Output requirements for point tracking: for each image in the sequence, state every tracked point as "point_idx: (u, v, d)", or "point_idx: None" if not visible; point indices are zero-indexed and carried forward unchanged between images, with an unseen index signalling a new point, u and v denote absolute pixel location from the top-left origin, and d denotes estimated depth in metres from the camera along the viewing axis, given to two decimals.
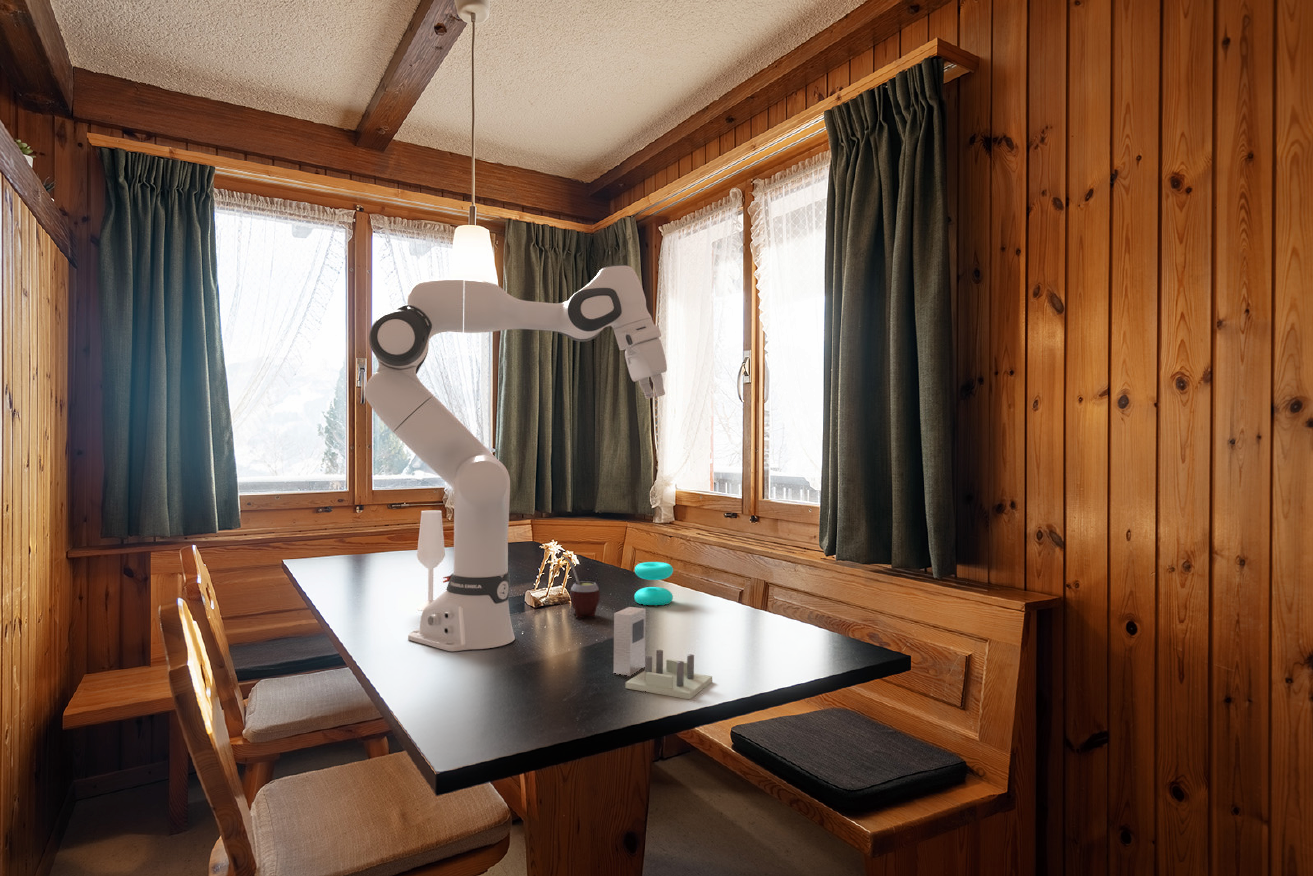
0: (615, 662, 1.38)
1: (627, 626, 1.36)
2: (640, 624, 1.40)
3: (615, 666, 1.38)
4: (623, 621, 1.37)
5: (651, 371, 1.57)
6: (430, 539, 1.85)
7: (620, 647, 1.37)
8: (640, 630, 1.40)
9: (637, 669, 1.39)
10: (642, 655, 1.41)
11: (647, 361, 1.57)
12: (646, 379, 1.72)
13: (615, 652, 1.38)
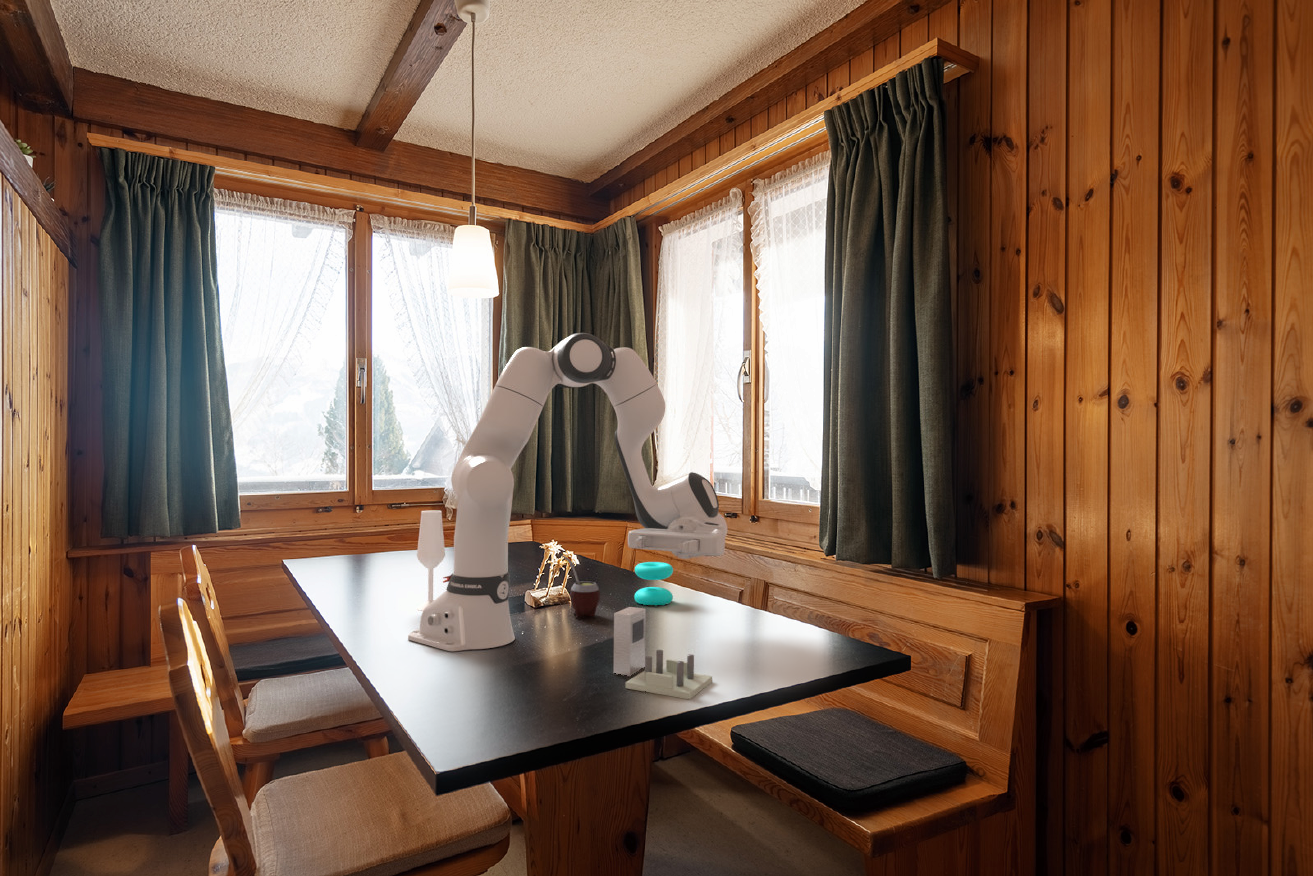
0: (615, 662, 1.38)
1: (627, 626, 1.36)
2: (640, 624, 1.40)
3: (615, 666, 1.38)
4: (623, 621, 1.37)
5: (715, 537, 1.51)
6: (430, 539, 1.85)
7: (620, 647, 1.37)
8: (640, 630, 1.40)
9: (637, 669, 1.39)
10: (642, 655, 1.41)
11: (719, 534, 1.53)
12: (646, 544, 1.57)
13: (615, 652, 1.38)
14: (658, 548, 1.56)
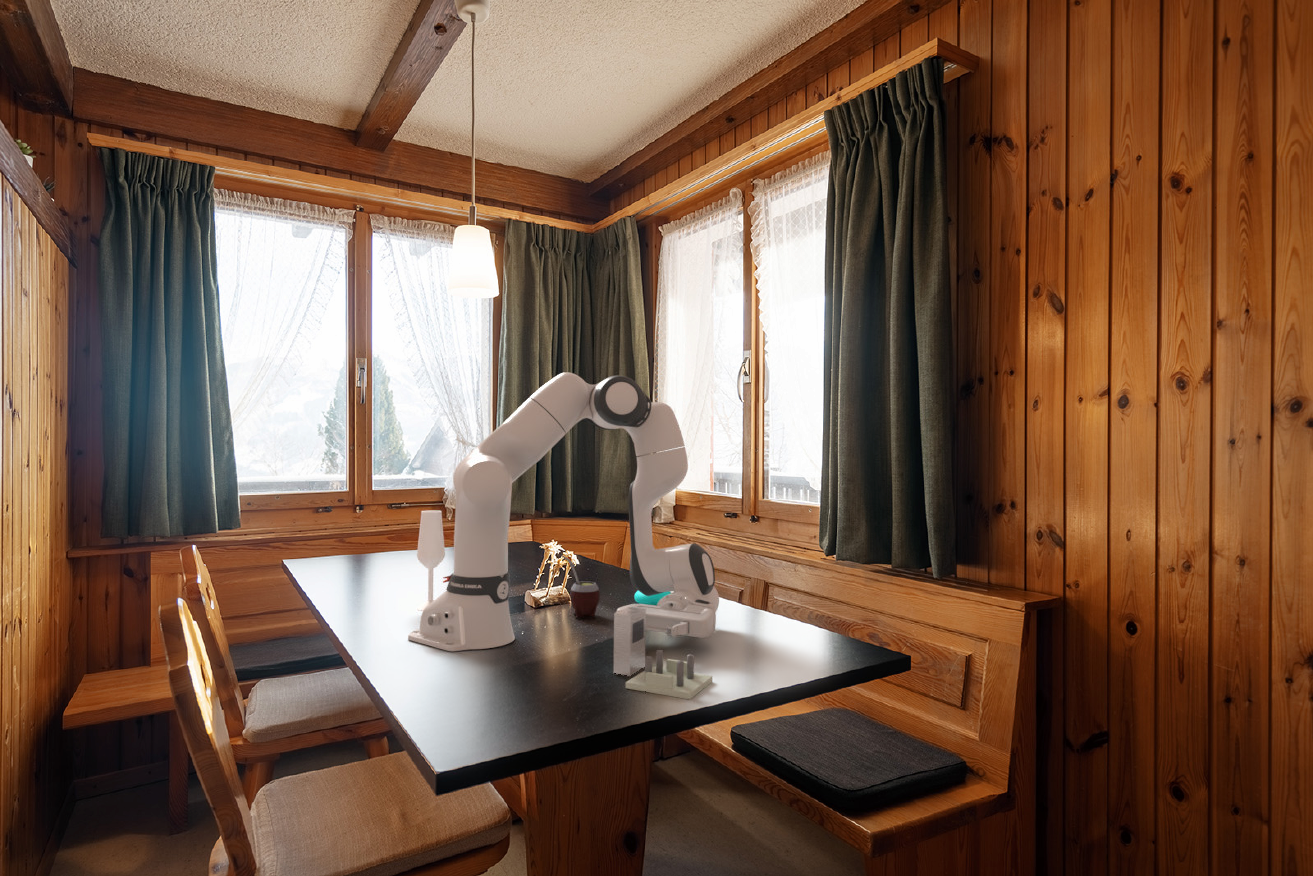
0: (615, 662, 1.38)
1: (627, 626, 1.36)
2: (640, 624, 1.40)
3: (615, 666, 1.38)
4: (623, 621, 1.37)
5: (705, 619, 1.47)
6: (430, 539, 1.85)
7: (620, 647, 1.37)
8: (640, 630, 1.40)
9: (637, 669, 1.39)
10: (642, 655, 1.41)
11: (710, 616, 1.49)
12: None
13: (615, 652, 1.38)
14: (647, 628, 1.52)
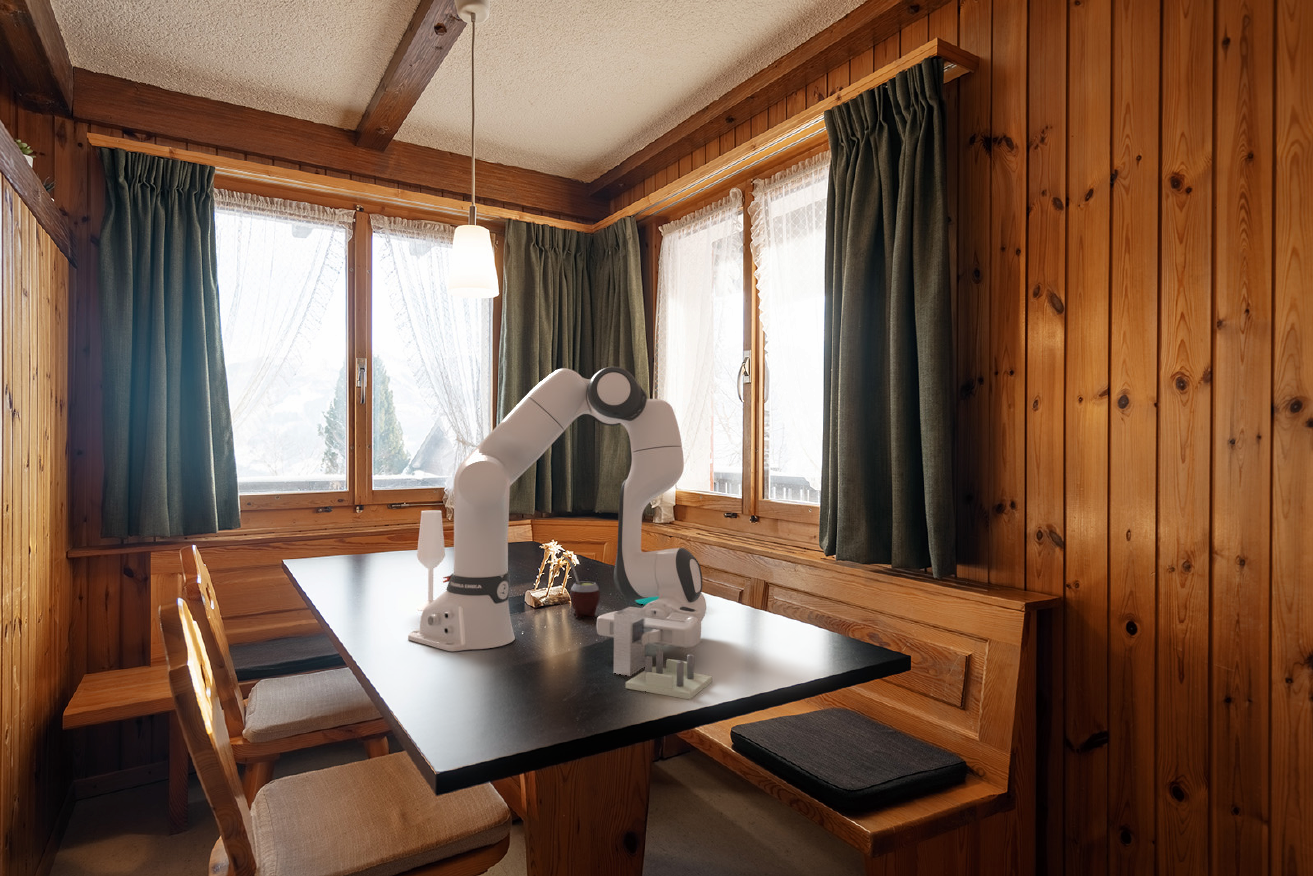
0: (615, 662, 1.38)
1: (627, 626, 1.36)
2: (640, 624, 1.40)
3: (615, 666, 1.38)
4: (623, 621, 1.37)
5: (689, 628, 1.40)
6: (430, 539, 1.85)
7: (620, 647, 1.37)
8: (640, 630, 1.40)
9: (637, 669, 1.39)
10: (642, 655, 1.41)
11: (694, 625, 1.42)
12: None
13: (615, 652, 1.38)
14: None
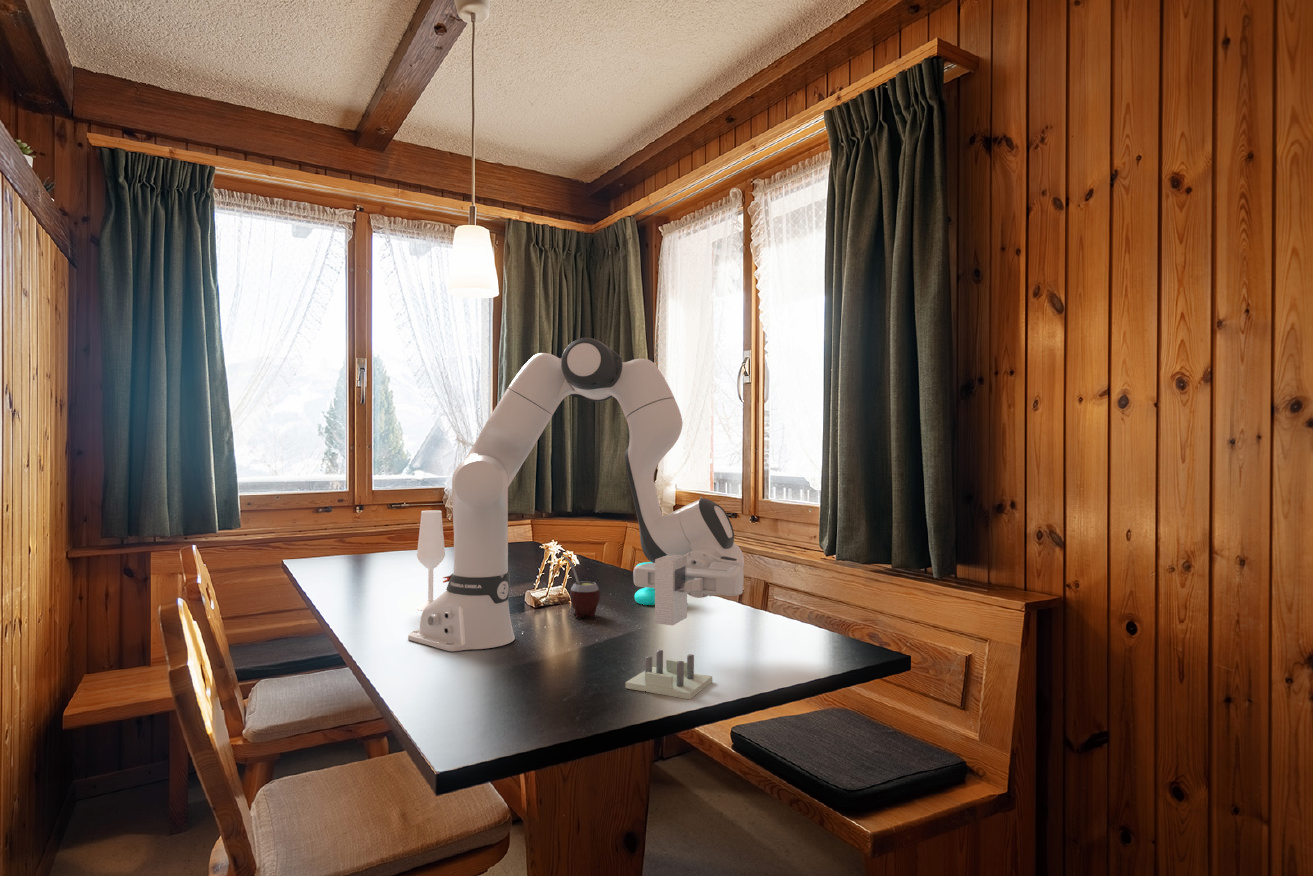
0: (656, 611, 1.30)
1: (669, 572, 1.29)
2: (682, 571, 1.32)
3: (657, 615, 1.30)
4: (665, 567, 1.29)
5: (733, 576, 1.32)
6: (430, 539, 1.85)
7: (661, 595, 1.29)
8: (682, 578, 1.32)
9: (679, 619, 1.31)
10: (684, 604, 1.33)
11: (738, 572, 1.34)
12: None
13: (656, 600, 1.30)
14: None
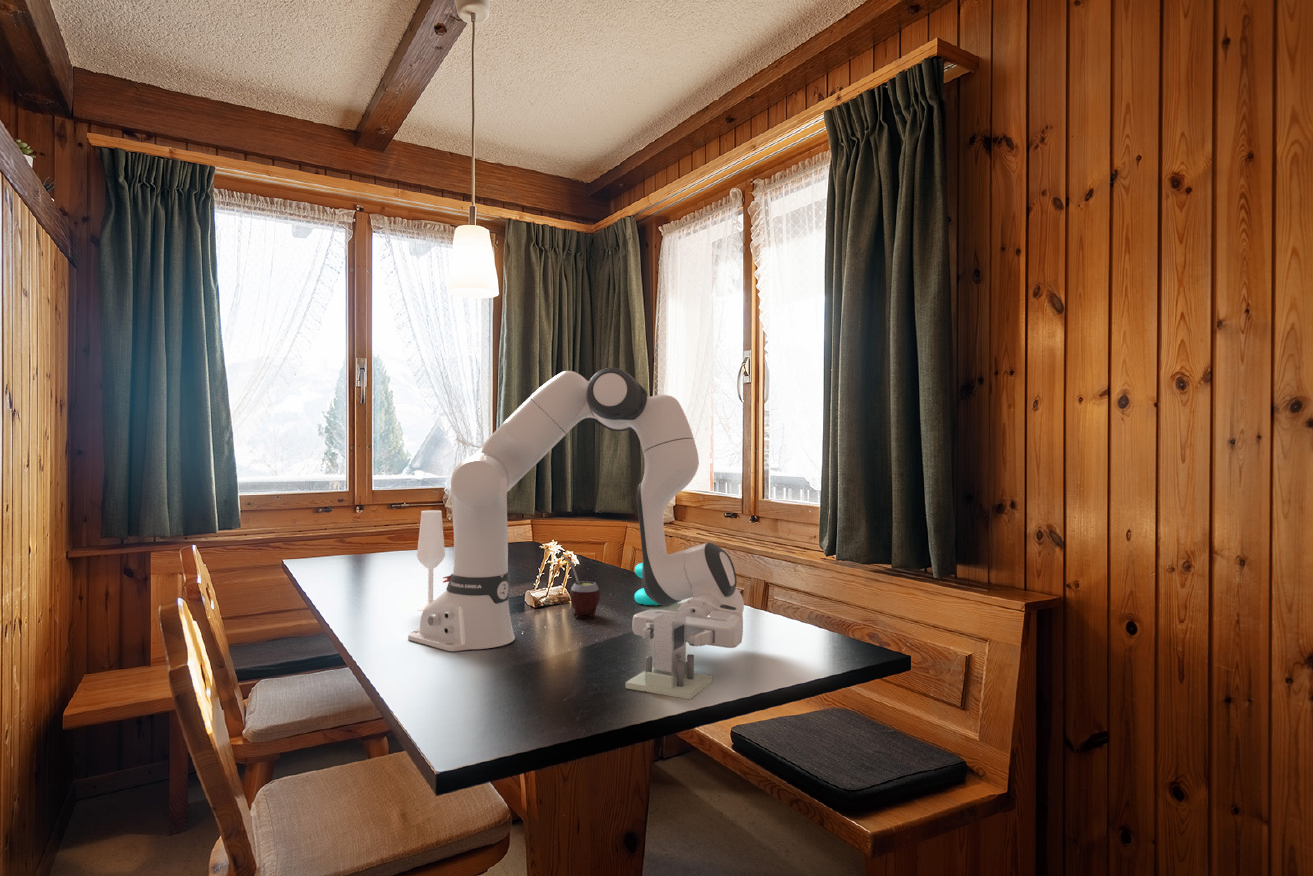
0: (655, 670, 1.30)
1: (668, 632, 1.29)
2: (681, 630, 1.32)
3: None
4: (664, 627, 1.29)
5: (732, 627, 1.32)
6: (430, 539, 1.85)
7: (660, 654, 1.29)
8: (681, 636, 1.32)
9: None
10: None
11: (737, 624, 1.34)
12: None
13: (655, 660, 1.30)
14: None
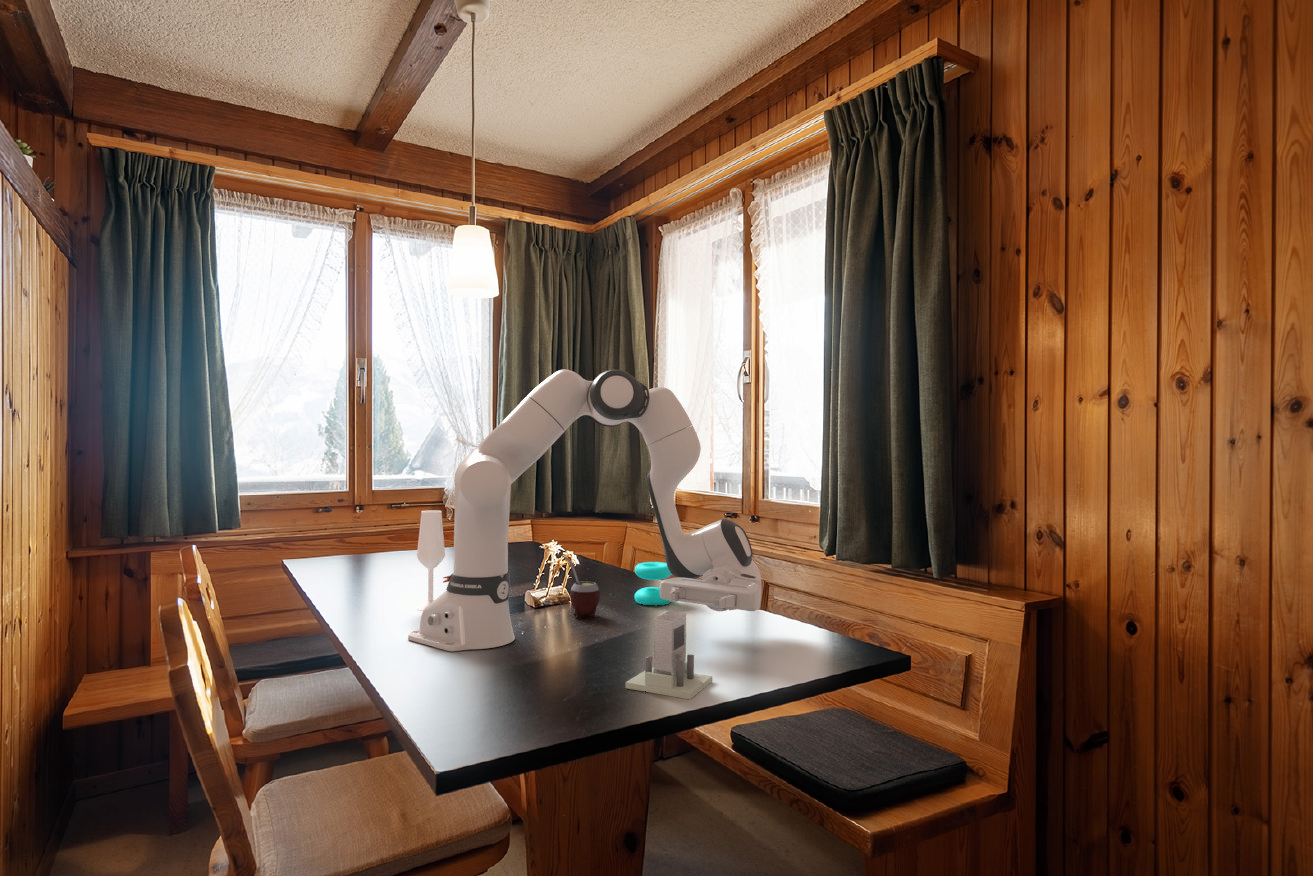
0: (655, 670, 1.30)
1: (668, 632, 1.29)
2: (681, 630, 1.32)
3: None
4: (664, 627, 1.29)
5: (753, 592, 1.44)
6: (430, 539, 1.85)
7: (660, 654, 1.29)
8: (681, 636, 1.32)
9: None
10: None
11: (757, 589, 1.46)
12: (679, 595, 1.50)
13: (655, 660, 1.30)
14: (692, 601, 1.49)
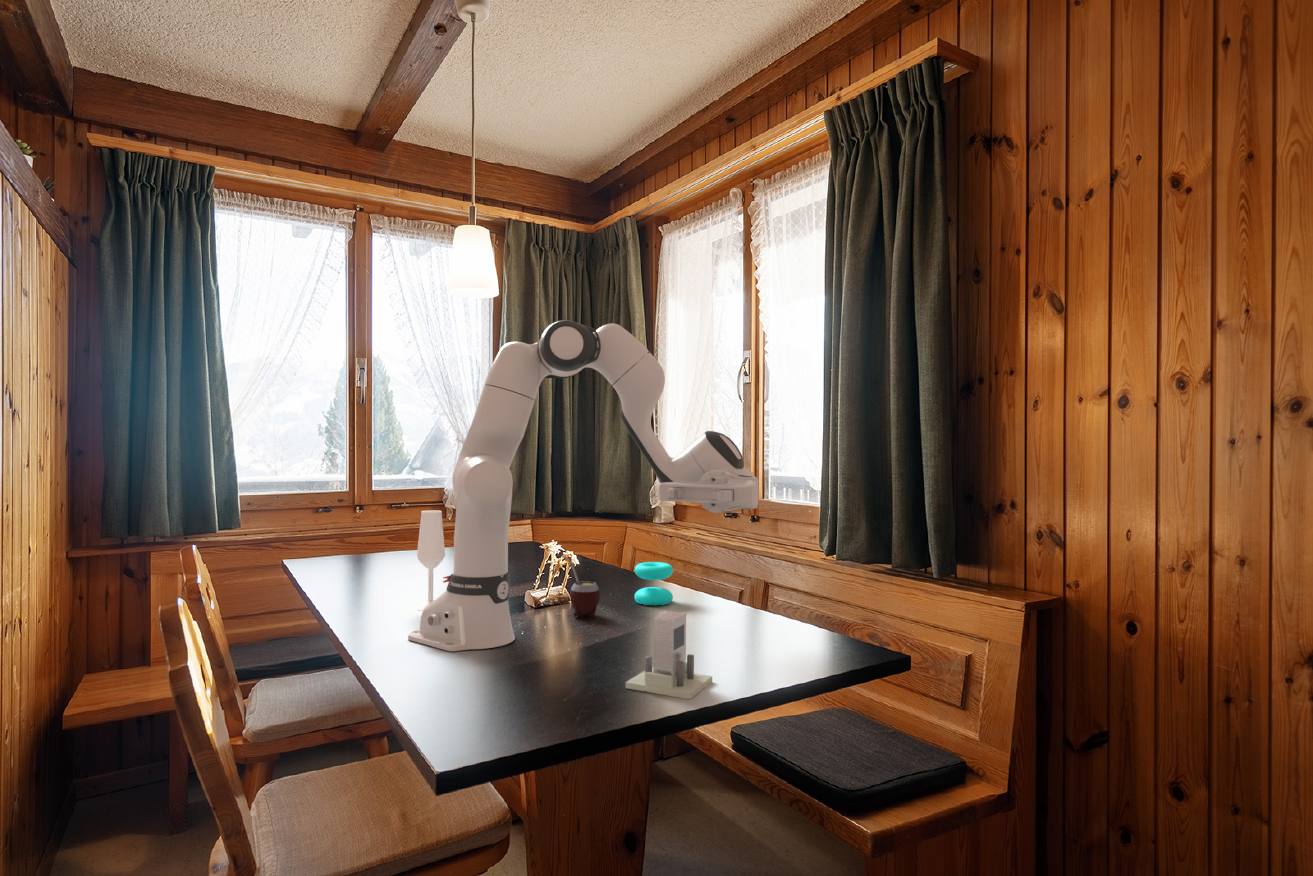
0: (655, 670, 1.30)
1: (668, 632, 1.29)
2: (681, 630, 1.32)
3: None
4: (664, 627, 1.29)
5: (750, 487, 1.46)
6: (430, 539, 1.85)
7: (660, 654, 1.29)
8: (681, 636, 1.32)
9: None
10: None
11: (754, 485, 1.48)
12: (677, 495, 1.51)
13: (655, 660, 1.30)
14: (690, 500, 1.51)
